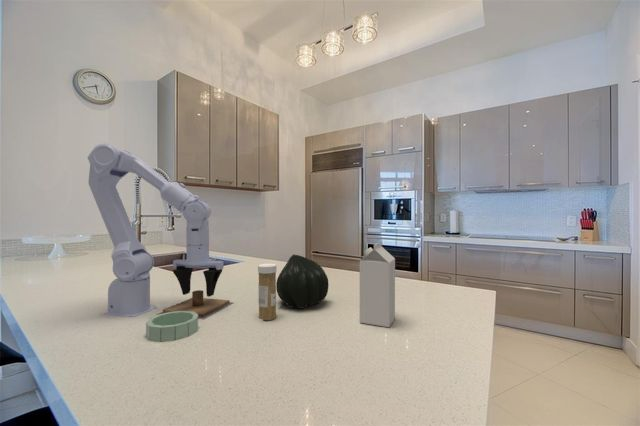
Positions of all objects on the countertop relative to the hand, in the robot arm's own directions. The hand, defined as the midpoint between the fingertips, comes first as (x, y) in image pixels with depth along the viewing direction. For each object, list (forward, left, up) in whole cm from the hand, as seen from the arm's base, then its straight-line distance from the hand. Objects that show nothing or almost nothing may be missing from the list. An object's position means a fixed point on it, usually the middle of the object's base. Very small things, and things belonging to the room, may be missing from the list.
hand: (198, 294), depth 81 cm
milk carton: (+48, +4, -4) cm, 48 cm away
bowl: (+5, -15, -4) cm, 16 cm away
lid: (0, 0, -4) cm, 4 cm away
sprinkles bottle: (+21, -1, -4) cm, 21 cm away
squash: (+26, +12, -4) cm, 29 cm away
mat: (0, 0, -4) cm, 4 cm away
